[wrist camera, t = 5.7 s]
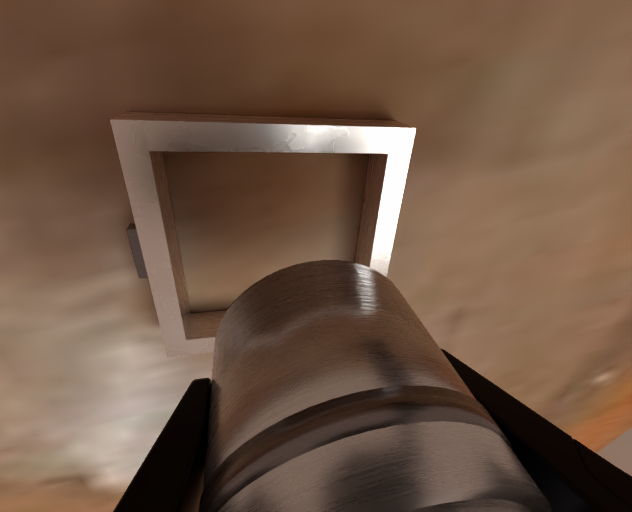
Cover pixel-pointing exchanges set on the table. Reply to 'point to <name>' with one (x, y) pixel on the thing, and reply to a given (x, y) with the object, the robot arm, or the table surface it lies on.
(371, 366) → the piston
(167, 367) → the table surface
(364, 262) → the grey square frame
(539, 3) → the table surface
